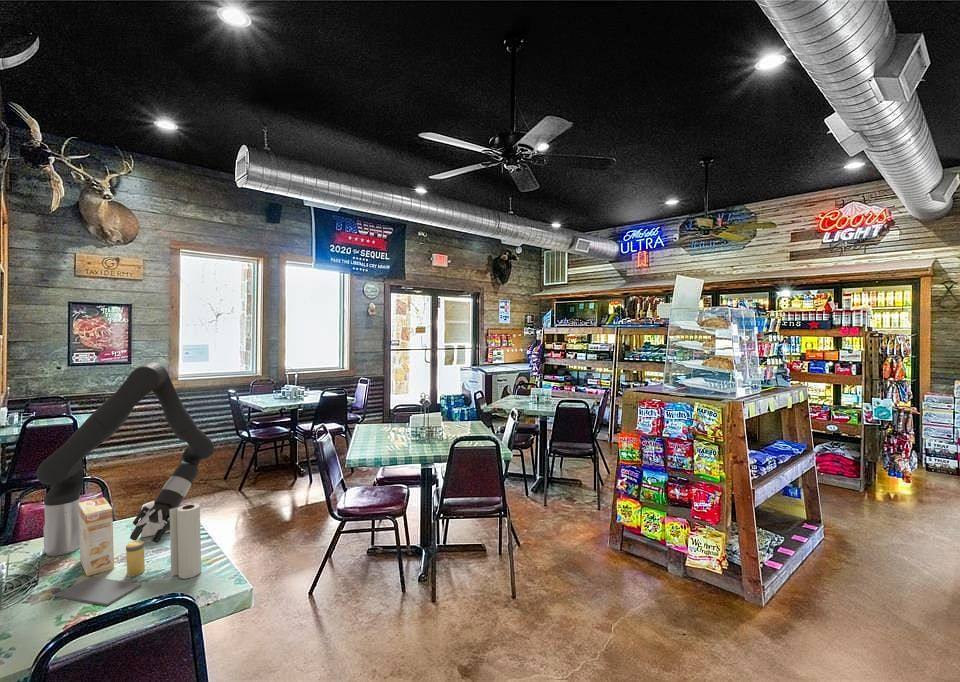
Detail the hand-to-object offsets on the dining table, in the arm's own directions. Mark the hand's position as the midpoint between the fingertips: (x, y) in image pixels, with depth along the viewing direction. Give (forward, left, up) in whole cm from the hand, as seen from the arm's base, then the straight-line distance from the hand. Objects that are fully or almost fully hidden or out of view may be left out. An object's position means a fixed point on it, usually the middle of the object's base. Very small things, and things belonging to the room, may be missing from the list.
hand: (143, 541), depth 149 cm
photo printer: (-18, +21, -9) cm, 29 cm away
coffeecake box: (-17, -2, -9) cm, 19 cm away
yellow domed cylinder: (0, -3, -9) cm, 9 cm away
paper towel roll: (+17, 0, -9) cm, 19 cm away
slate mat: (-1, -14, -9) cm, 16 cm away
